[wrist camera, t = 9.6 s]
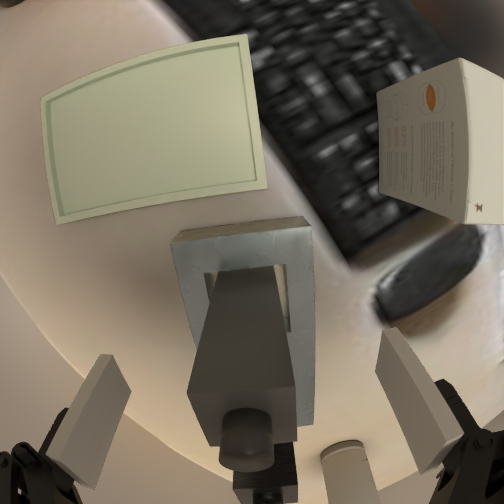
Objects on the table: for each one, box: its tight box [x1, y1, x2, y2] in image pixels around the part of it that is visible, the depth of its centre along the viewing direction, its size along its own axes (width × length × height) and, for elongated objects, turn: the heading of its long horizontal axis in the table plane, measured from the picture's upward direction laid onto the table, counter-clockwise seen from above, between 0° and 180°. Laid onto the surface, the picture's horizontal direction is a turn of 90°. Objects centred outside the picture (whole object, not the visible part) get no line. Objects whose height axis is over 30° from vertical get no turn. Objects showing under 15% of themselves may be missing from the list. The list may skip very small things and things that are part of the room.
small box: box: [376, 58, 504, 225], centre depth 13 cm, size 8×6×10 cm
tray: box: [41, 34, 267, 225], centre depth 18 cm, size 11×17×1 cm, turn 97°
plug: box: [187, 265, 297, 472], centre depth 15 cm, size 4×4×14 cm
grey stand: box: [170, 216, 315, 504], centre depth 17 cm, size 20×9×15 cm, turn 7°
